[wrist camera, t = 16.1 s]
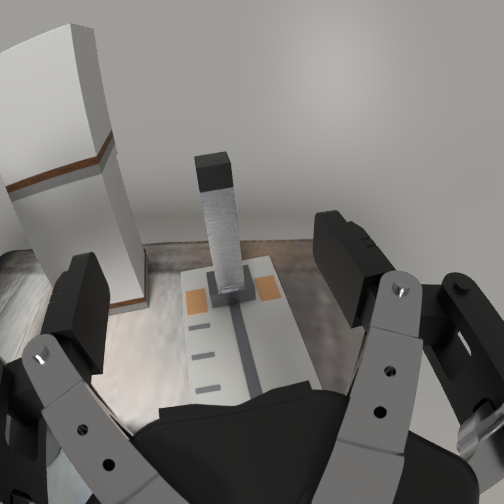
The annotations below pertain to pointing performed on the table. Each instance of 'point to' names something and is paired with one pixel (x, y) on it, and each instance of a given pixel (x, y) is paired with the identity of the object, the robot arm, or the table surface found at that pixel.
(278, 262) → the table surface
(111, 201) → the display case
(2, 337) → the table surface
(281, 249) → the table surface
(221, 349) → the console
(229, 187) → the fader
